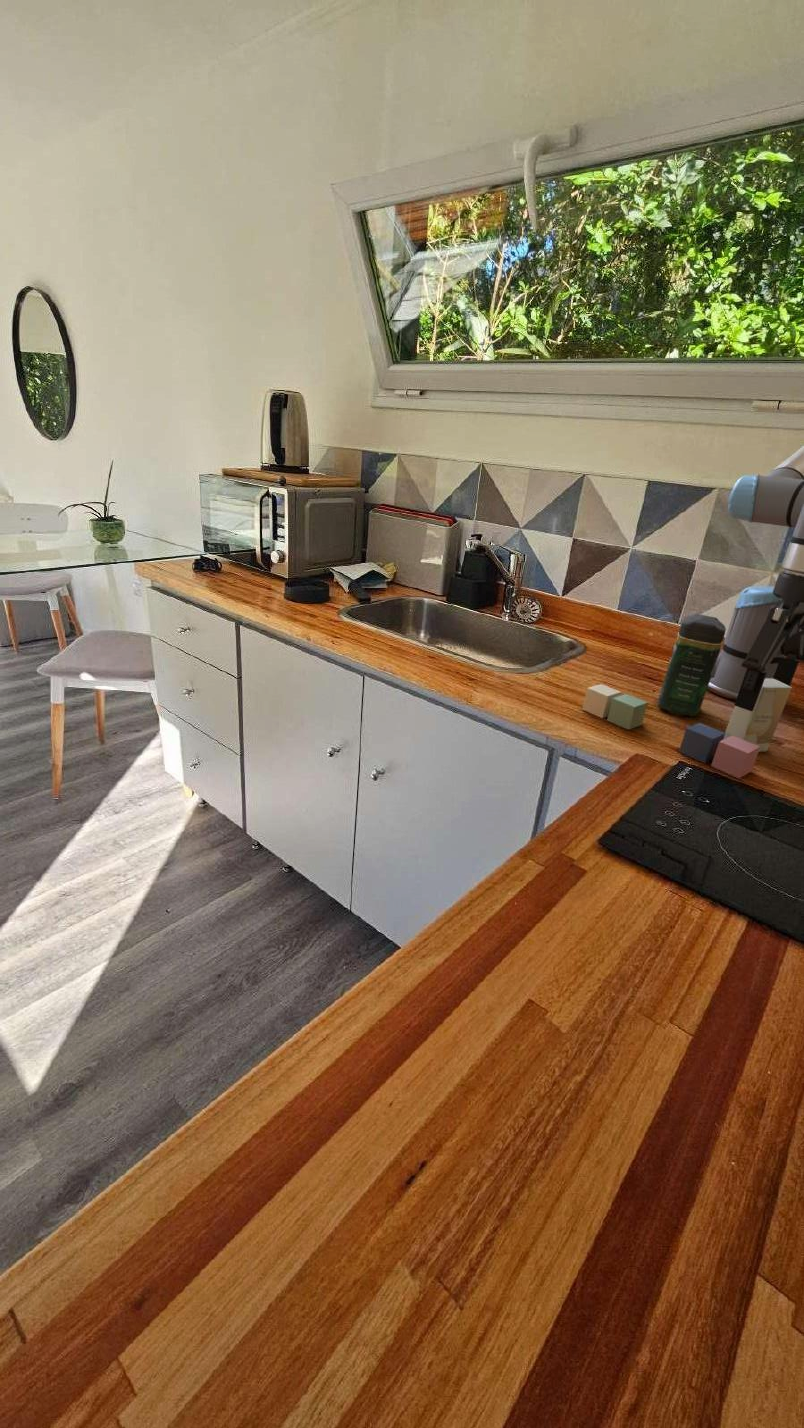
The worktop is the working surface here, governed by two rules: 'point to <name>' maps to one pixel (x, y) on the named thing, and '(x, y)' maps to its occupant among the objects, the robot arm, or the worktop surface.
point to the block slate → (701, 742)
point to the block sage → (627, 711)
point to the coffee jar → (691, 664)
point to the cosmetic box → (760, 715)
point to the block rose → (735, 756)
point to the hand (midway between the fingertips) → (760, 701)
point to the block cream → (599, 700)
